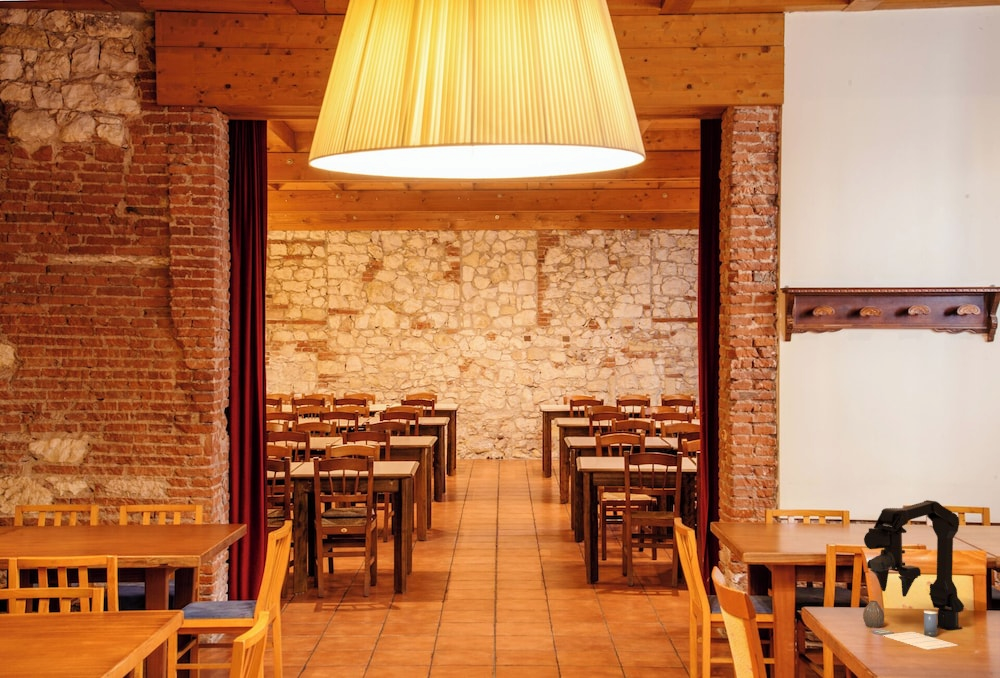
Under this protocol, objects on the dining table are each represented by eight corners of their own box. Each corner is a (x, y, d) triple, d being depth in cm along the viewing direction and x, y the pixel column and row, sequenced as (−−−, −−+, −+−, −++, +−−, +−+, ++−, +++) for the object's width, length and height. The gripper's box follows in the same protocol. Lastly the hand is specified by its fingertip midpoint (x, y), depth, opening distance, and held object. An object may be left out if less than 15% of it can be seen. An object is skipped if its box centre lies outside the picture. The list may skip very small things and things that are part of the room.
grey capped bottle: (930, 633, 350) (930, 609, 350) (940, 636, 346) (940, 612, 347) (921, 634, 348) (920, 610, 349) (930, 637, 345) (930, 613, 345)
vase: (885, 629, 355) (885, 603, 356) (864, 628, 357) (864, 602, 357) (882, 624, 362) (882, 599, 362) (861, 623, 363) (861, 598, 364)
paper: (912, 632, 351) (912, 631, 351) (957, 645, 334) (957, 644, 334) (882, 636, 346) (882, 635, 346) (927, 649, 329) (927, 648, 329)
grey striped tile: (883, 630, 354) (883, 629, 354) (893, 633, 350) (893, 632, 350) (870, 632, 351) (870, 630, 351) (880, 635, 347) (880, 633, 347)
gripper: (854, 544, 354) (855, 590, 353) (895, 553, 337) (896, 601, 336) (879, 542, 358) (880, 587, 358) (921, 550, 341) (922, 598, 341)
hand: (893, 593), depth 348 cm, fingers open, 9 cm apart
